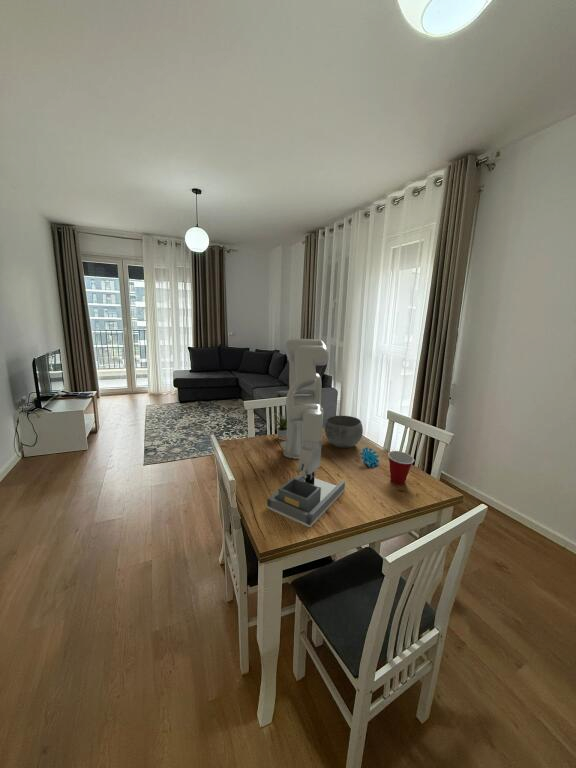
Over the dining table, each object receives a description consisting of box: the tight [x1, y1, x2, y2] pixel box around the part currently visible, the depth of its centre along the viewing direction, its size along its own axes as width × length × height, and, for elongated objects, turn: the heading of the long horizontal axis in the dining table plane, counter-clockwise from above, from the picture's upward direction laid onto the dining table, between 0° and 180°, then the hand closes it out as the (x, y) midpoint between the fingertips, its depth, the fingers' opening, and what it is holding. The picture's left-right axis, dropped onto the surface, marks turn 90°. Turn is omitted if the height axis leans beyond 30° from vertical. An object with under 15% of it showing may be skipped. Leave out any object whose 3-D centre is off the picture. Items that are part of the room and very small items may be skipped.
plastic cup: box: [387, 450, 415, 485], centre depth 132 cm, size 11×11×12 cm
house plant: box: [272, 412, 287, 439], centre depth 176 cm, size 14×14×16 cm
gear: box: [360, 447, 380, 468], centre depth 149 cm, size 11×6×10 cm
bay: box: [267, 472, 346, 528], centre depth 118 cm, size 18×28×4 cm, turn 146°
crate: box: [278, 477, 321, 513], centre depth 112 cm, size 12×10×7 cm
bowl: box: [324, 415, 364, 449], centre depth 168 cm, size 20×20×15 cm
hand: (309, 486), depth 118 cm, fingers closed
